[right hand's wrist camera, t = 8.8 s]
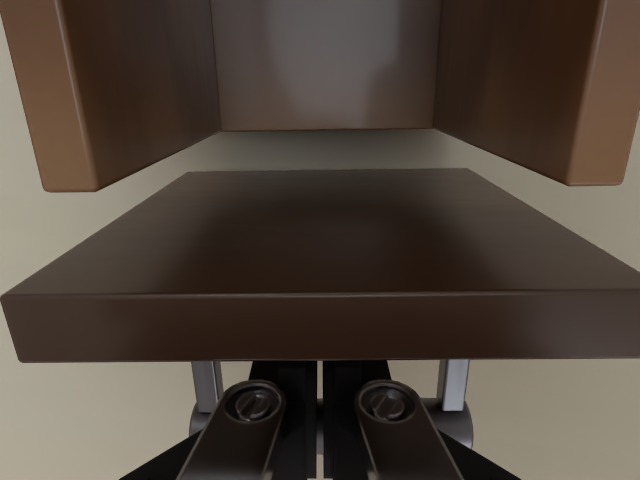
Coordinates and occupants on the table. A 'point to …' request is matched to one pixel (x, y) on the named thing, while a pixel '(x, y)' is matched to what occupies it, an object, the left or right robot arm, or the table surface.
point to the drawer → (327, 184)
